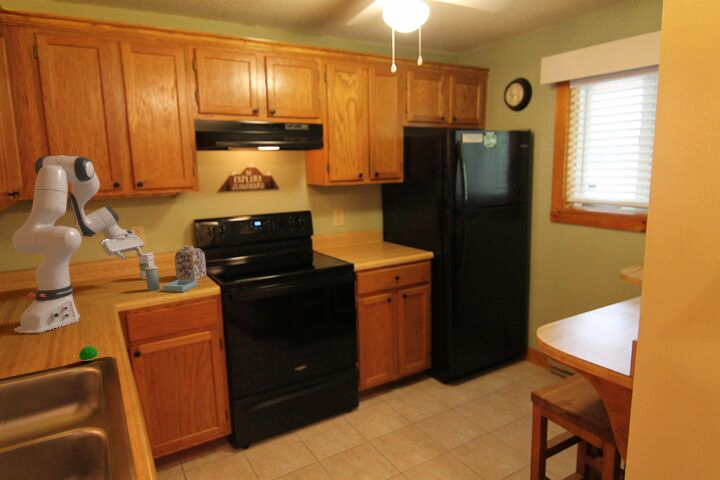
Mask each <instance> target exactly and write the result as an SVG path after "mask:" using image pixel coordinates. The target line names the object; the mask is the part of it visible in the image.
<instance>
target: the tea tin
mask: <svg viewBox="0 0 720 480" xmlns="http://www.w3.org/2000/svg"><path fill="white" fill-rule="evenodd" d="M145 271H146V279H147V280H146V287H147V291H148V292H157V291H159V290H160V289H161V288H160V279H159V272H158V265H154V266H150V267H146V268H145Z"/></svg>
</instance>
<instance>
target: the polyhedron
mask: <svg viewBox="0 0 720 480" xmlns="http://www.w3.org/2000/svg"><path fill="white" fill-rule="evenodd" d="M98 353H99V352H98V349H97V348H96V347H95V346H91V345H89V346H88V345H87V346H85V347H83V348H82V349H81V350H80V351H79V355H78V356H79V357H78V358H79V359H80V360H81V361H82V360H87V359H92V358H94V357H96V356H98V355H99V354H98ZM96 358H97V357H96Z"/></svg>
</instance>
